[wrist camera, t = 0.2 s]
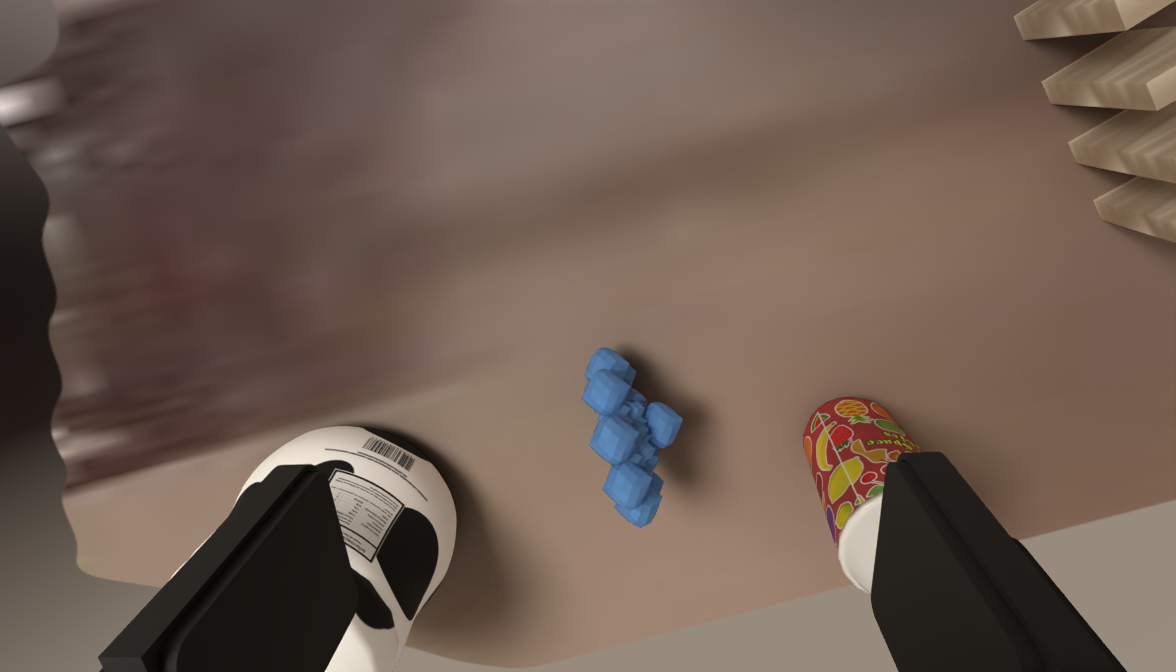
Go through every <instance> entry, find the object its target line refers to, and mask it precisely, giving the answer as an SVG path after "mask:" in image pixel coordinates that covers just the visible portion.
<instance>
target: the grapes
mask: <svg viewBox="0 0 1176 672" xmlns="http://www.w3.org/2000/svg"><path fill="white" fill-rule="evenodd" d="M635 375H636V371H635V370H634V369H633V368H632V367H631V366H630V365H629V363H628V362H627V361H626V360H625V359H624V358H623V357H621V356H620V355H619V354H618V353H617V352H615V351H613V350H611V349H609V348H599V349H598V350H597V351H596V352H595V354H594V355H593V356H592V358H591V359H590V361H589V364H588V367H587V369H586V372H585V375H584V376H585V377H586V378H587V379H588V380H589V381H588V384H587V386H586V389H585V392H584V394H583V397H582V400H584V401H585V402H586V403H587V404H588V405H589V406H590V407H591V408H592V409H593V410H594V411H595V412H597V413H599V417H598V419H597V420H598V421H599V423H598V424H597V426H596V428H595V430H594V433H593V436H592V438H591V441H590V444H589V446H590V447H591V448H592V449H593V450H594V451H595V452H596V453H597V454H598V455H599V456H601V457H602V458H603V459H604V460H606V461H608V462H609V463H610V464H611V465H612V466H613V467H612V468H611V470H610V471H609V474H608V476H607V479H606V482H605V484H604V487H603V491H604V492H605V493H606V494H607V495H608V496H609V497H610V498H611V499H612V500H613V501H614V502H615V503H616V504H615V509H616V510H617V511H618V512H619V513H620V514H621V515H622V516H623V517H624V518H625V519H626V520H627V521H629V522H630V523H632V524H633V525H636V526H638V527H640V528H641V527H643V526H645V525H647V524H649V523H650V522H651V521H652V519H653V518H654V516H655V514H656V512H657V509H658V507H659V504H660V501H661V499H662V496H661V495H660V494H659V493H660V491H661V488H662V485H663V482H664V481H663V480H662V479H661V478H660V477H659V476H658V475H657V474H655V473H654V472H653V470H654V468H655V467H656V465H657V462H658V459H659V458H658V456H659V453H660V452H659V451H658V450H657V449H656V448H657V446H658V447H660V448H662V449H663V448H665V447H668V446H670V445H671V444H672V443H673V441H674V440H675V438H676V436H677V434H678V432H679V429H680V427H681V424H682V421H683V418H682V417H681V416H680V415H678V414H677V413H676V412H675V411H674V410H673V409H671V408H670V407H669V406H667V405H665V404H663V403H661V402H658V401H656V402H652V403H650V404H649V405H648V406H646V405H647V402H646V400H647V399H646V398H645V397H644V396H643V395H642V394H641V393H639V392H638V391H637V390H635V389H633V388H631V387H632V383H633V380H634V377H635Z"/></svg>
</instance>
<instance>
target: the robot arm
mask: <svg viewBox="0 0 1176 672" xmlns="http://www.w3.org/2000/svg"><path fill="white" fill-rule="evenodd" d="M871 603H872V609H873V613H874V616H875V619H876V621H877V623H878V625H879V628H880V630H881V632H882V635H883V637H884V639H885V641H886V644H887V646H888V648H889V651H890V653H891V655H892V658H893V660H894V662H895V664H896V667H897V669H898V671H899V672H1127V671H1126V670H1125V668H1124V667H1123V666H1122V665H1121V664H1120V662H1119V661H1118V660H1117V659H1116V657H1115V656H1114V655H1113V654H1112V653H1111V651H1110V650H1109V649H1108V648H1107V646H1106V645H1105V644H1104V643H1103V642H1102V640H1101V639H1100V638H1099V637H1098V636H1097V634H1096V633H1095V632H1094V631H1093V630H1092V628H1091V627H1090V626H1089V625H1088V623H1087V622H1086V621H1085V620H1084V619H1083V617H1082V616H1081V615H1080V614H1079V612H1078V611H1077V610H1076V609H1075V608H1074V606H1073V605H1072V604H1071V603H1070V602H1069V600H1068V599H1067V598H1066V597H1065V595H1064V594H1063V593H1062V592H1061V591H1060V589H1059V588H1058V587H1057V586H1056V585H1055V583H1054V582H1053V581H1052V580H1051V578H1050V577H1049V576H1048V575H1047V573H1046V572H1045V571H1044V570H1043V569H1042V567H1041V566H1040V565H1039V564H1038V562H1037V561H1036V560H1035V559H1034V558H1033V556H1032V555H1031V554H1030V553H1029V551H1028V550H1027V549H1026V548H1025V547H1024V546H1023V545H1022V544H1021V543H1020V542H1019V541H1018V540H1017V539H1015V538H1012V537H1010V535H1009V534H1008V533H1007V532H1006V531H1005V529H1004V528H1003V527H1002V526H1001V524H1000V523H999V522H998V521H997V519H996V518H995V517H994V516H993V514H992V513H991V512H990V511H989V510H988V508H987V507H986V506H985V505H984V503H983V502H982V501H981V500H980V498H979V497H978V496H977V495H976V493H975V492H974V491H973V490H972V488H971V487H970V486H969V485H968V484H967V482H966V481H965V480H964V479H963V477H962V476H961V475H960V474H959V472H958V471H957V470H956V469H955V467H954V466H953V465H952V464H951V462H950V461H949V460H948V459H947V458H946V456H945V455H944V454H942V453H941V452H903V453H901V454H900V455H899V457H898V459H897V462H889V463H888V464H887V466H886V471H885V479H884V488H883V496H882V504H881V512H880V521H879V529H878V537H877V546H876V554H875V562H874V571H873V579H872V587H871ZM357 605H358V592H357V588H356V584H355V580H354V576H353V572H352V568H351V565H350V561H349V557H348V553H347V549H346V545H345V542H344V538H343V534H342V530H341V526H340V523H339V519H338V515H337V511H336V507H335V503H334V500H333V496H332V492H331V488H330V484H329V480H328V478H327V476H326V475H325V473H322V472H319V471H318V469H317V468H316V467H315V466H314V465H312V464H292V465H278V466H276V467H275V468H274V469H273V470H272V471H271V472H270V473H269V474H268V475H267V476H266V477H265V478H264V479H263V480H262V481H261V483H260V484H259V485H258V486H257V487H256V488H255V489H254V490H253V491H252V492H251V493H250V494H249V495H248V497H247V498H246V499H245V500H244V501H243V502H242V503H241V504H240V505H239V506H238V507H237V508H236V509H235V510H234V512H233V513H232V514H231V515H230V516H229V517H228V518H227V519H226V520H225V521H224V522H223V523H222V524H221V526H220V527H219V528H218V529H217V530H216V531H215V532H214V533H213V534H212V535H211V536H210V537H209V538H208V539H207V541H206V542H205V543H204V544H203V545H202V546H201V547H200V548H199V549H198V550H197V551H196V552H195V553H194V555H193V556H192V557H191V558H190V559H189V560H188V561H187V562H186V563H185V564H184V565H183V566H182V567H181V568H180V570H179V571H178V572H177V573H176V574H175V575H174V576H173V577H172V578H171V579H170V580H169V581H168V582H167V584H166V585H165V586H164V587H163V588H162V589H161V590H160V591H159V592H158V593H157V594H156V595H155V596H154V597H153V599H152V600H151V601H150V602H149V603H148V604H147V605H146V606H145V607H144V608H143V609H142V610H141V612H140V613H139V614H138V615H137V616H136V617H135V618H134V619H133V620H132V621H131V622H130V623H129V624H128V625H127V627H126V628H125V629H124V630H123V631H122V632H121V633H120V634H119V635H118V636H117V637H116V638H115V639H114V640H113V642H112V643H111V644H110V645H109V646H108V647H107V648H106V649H105V650H104V651H103V652H102V653H101V654H100V656H99V657H98V658H99V660H100V662H101V664H102V667H103V668H102V669H101V671H100V672H325V671H326V669H327V667H328V665H329V663H330V661H331V659H332V657H333V655H334V654H335V652H336V650H337V648H338V646H339V644H340V642H341V640H342V638H343V636H344V635H345V633H346V631H347V629H348V627H349V625H350V623H351V621H352V619H353V617H354V615H355V613H356V610H357Z"/></svg>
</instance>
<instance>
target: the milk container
mask: <svg viewBox="0 0 1176 672" xmlns="http://www.w3.org/2000/svg"><path fill="white" fill-rule="evenodd" d="M292 464H312V465H314V466H315V467H316V468H317V469H318V471H319V472H322V473H325V475H326V476H327V478H328V480H329V484H330V488H331V492H332V496H333V500H334V503H335V507H336V511H337V515H338V519H339V523H340V526H341V530H342V534H343V538H344V542H345V545H346V549H347V553H348V557H349V561H350V565H351V568H352V572H353V576H354V580H355V584H356V588H357V592H358V605H357V610H356V613H355V615H354V617H353V619H352V621H351V623H350V625H349V627H348V629H347V631H346V633H345V635H344V636H343V638H342V640H341V642H340V644H339V646H338V648H337V650H336V652H335V654H334V655H333V657H332V659H331V661H330V663H329V665H328V667H327V669H326V671H325V672H393V669H394V667H395V666H396V664H397V662H398V661H399V658H400V656H401V653H402V651H403V648H404V646H405V643H406V640H407V638H408V635H409V632H410V629H411V627H412V624H413V621H414V619H415V617H416V615H417V614H418V613H419V611H420V610H421V609H422V608H423V607H424V605H425V604H426V603H427V602H428V601H429V600H430V598H431V597H432V596H433V594H434V593H435V592H436V590H437V589H438V587H439V585H440V584H441V582H442V580H443V578H444V576H445V574H446V572H447V570H448V567H449V564H450V561H451V558H452V554H453V550H454V545H455V538H456V525H457V520H456V510H455V506H454V502H453V499H452V496H451V493H450V490H449V488H448V486H447V484H446V483H445V481H444V479H443V478H442V476H441V475H440V473H439V471H438V470H437V469H436V467H435V466H434V465H433V464H432V463H431V462H430V461H429V460H428V459H427V458H426V457H425V456H423V455H422V454H421V453H420V452H419V451H417V450H416V449H415V448H414V447H412V446H411V445H410V444H408V443H406V442H404V441H403V440H401V439H398V438H396V437H394V436H392V435H389V434H387V433H385V432H382V431H379V430H376V429H371V428H365V427H356V426H334V427H326V428H321V429H317V430H313V431H310V432H307V433H305V434H303V435H301V436H299V437H297V438H295V439H293V440H292V441H290V442H288V443H287V444H285V445H283V446H282V447H280V448H279V449H278V450H276V451H275V452H274V453H272V454H271V455H270V456H269V457H268V458H267V459H265V460H264V461H263V462H262V463H261V464H260V465H259V466H258V467H257V469H256V470H255V471H254V472H253V473H252V475H251V476H250V477H249V479H248V480H247V482H246V483H245V485H244V486H243V488H242V490H241V492H240V494H239V496H238V498H237V500H236V502H235V505H234V507H233V509H232V511H231V513H230V515H231V514H232V513H233V512H234V510H235V509H236V508H237V507H238V506H239V505H240V504H241V503H242V502H243V501H244V500H245V499H246V498H247V497H248V495H249V494H250V493H251V492H252V491H253V490H254V489H255V488H256V487H257V486H258V485H259V484H260V483H261V481H262V480H263V479H264V478H265V477H266V476H267V475H268V474H269V473H270V472H271V471H272V470H273V469H274V468H275V467H276V466H278V465H292ZM230 515H229V516H230ZM229 516H228V517H229ZM212 534H213V533H212ZM212 534H211V535H212ZM211 535H210V536H211ZM210 536H209V537H210ZM209 537H208V538H209ZM208 538H207V539H208ZM207 539H206V540H205V541H204V542H203V543H202V544H201V545H200V547H201V546H202V545H203V544H204V543H205V542H206V541H207ZM200 547H199V548H200ZM199 548H198V549H199ZM198 549H197V550H198ZM197 550H196V551H197ZM196 551H195V552H196ZM195 552H194V553H195ZM194 553H193V554H192V556H193V555H194ZM192 556H191V557H192ZM191 557H190V558H191ZM188 560H189V559H188ZM188 560H187V561H188ZM187 561H186V562H187ZM186 562H185V563H186ZM185 563H184V564H185ZM184 564H183V565H184ZM183 565H182V566H183ZM182 566H181V567H182ZM181 567H180V568H181ZM180 568H179V569H178V570H177V571H176V572H175V573H174V574H173V576H174V575H175V574H176V573H177V572H178V571H179V570H180ZM173 576H172V577H173ZM172 577H171V578H172ZM171 578H170V579H171Z"/></svg>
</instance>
